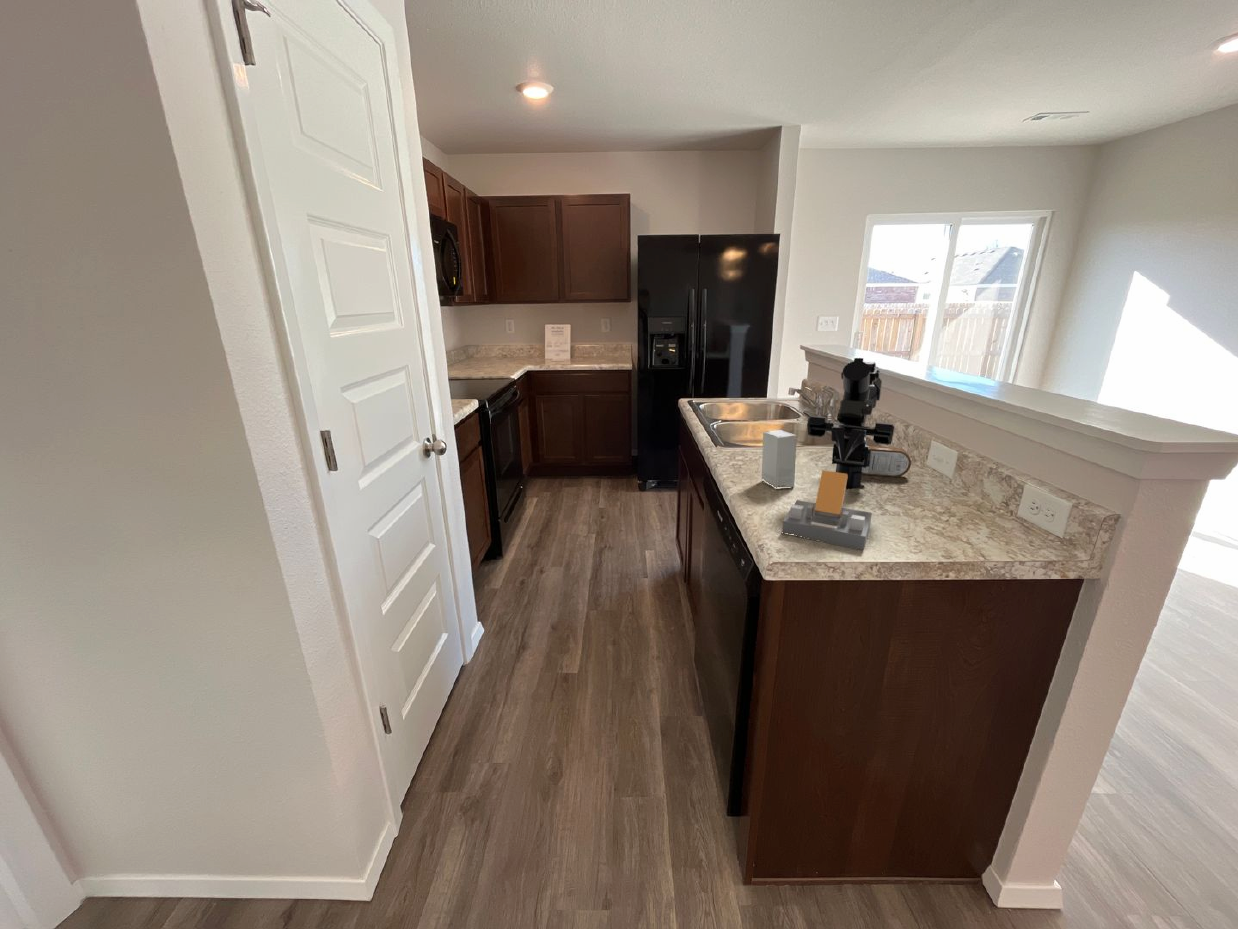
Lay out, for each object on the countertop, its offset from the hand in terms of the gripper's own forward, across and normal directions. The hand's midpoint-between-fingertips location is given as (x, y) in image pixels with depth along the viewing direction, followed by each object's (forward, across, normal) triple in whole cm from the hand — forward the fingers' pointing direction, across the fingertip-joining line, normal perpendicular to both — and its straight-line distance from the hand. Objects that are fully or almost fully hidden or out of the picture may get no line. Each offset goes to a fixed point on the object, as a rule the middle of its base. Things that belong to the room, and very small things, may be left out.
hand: (842, 460), depth 114 cm
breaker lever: (+16, 0, -6) cm, 18 cm away
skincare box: (+2, -16, +17) cm, 24 cm away
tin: (-14, +8, +33) cm, 36 cm away
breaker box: (+18, 0, -2) cm, 18 cm away
